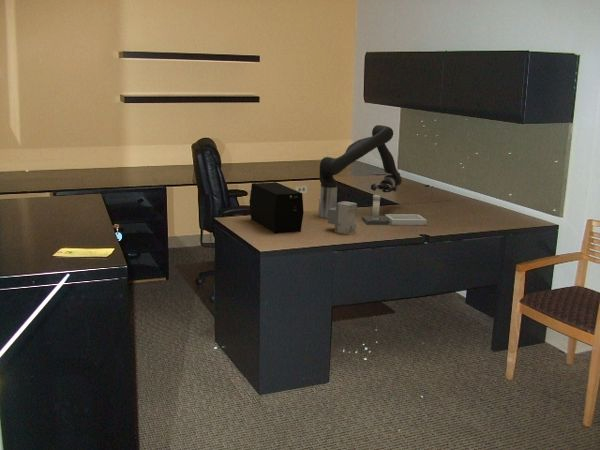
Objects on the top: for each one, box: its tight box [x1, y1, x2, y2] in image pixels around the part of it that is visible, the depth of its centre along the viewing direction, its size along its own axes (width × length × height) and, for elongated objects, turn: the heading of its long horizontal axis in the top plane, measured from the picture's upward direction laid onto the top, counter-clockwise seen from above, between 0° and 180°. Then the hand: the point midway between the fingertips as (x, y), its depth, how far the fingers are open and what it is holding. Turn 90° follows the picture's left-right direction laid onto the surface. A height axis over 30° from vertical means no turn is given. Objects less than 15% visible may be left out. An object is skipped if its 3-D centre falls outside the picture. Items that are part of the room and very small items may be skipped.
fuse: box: [371, 194, 381, 220], centre depth 362 cm, size 4×4×15 cm
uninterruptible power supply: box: [249, 181, 305, 234], centre depth 344 cm, size 16×34×20 cm, turn 27°
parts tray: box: [384, 213, 428, 226], centre depth 365 cm, size 20×14×3 cm
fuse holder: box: [361, 215, 390, 226], centre depth 363 cm, size 12×12×2 cm
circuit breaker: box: [327, 200, 358, 235], centre depth 340 cm, size 8×14×15 cm, turn 56°
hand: (381, 189), depth 370 cm, fingers open, 8 cm apart
